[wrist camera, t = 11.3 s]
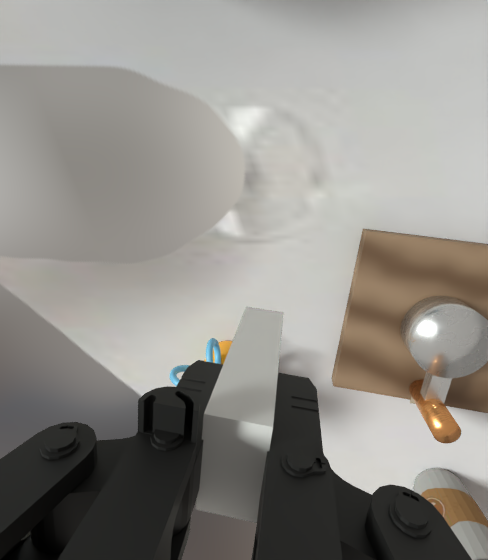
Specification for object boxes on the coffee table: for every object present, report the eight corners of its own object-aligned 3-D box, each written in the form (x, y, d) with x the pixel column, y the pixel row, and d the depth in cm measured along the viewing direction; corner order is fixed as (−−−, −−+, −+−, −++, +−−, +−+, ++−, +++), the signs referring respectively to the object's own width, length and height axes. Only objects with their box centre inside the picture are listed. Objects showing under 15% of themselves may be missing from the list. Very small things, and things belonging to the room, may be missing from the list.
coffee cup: (427, 450, 46) (487, 571, 32) (482, 478, 46) (566, 612, 32) (392, 490, 48) (433, 619, 34) (444, 517, 48) (506, 656, 34)
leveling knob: (409, 290, 38) (437, 316, 31) (484, 301, 37) (531, 330, 30) (383, 391, 42) (402, 435, 34) (451, 402, 41) (485, 450, 34)
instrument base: (362, 228, 39) (369, 233, 36) (548, 251, 37) (574, 258, 33) (331, 380, 45) (334, 396, 42) (489, 407, 43) (506, 427, 39)
